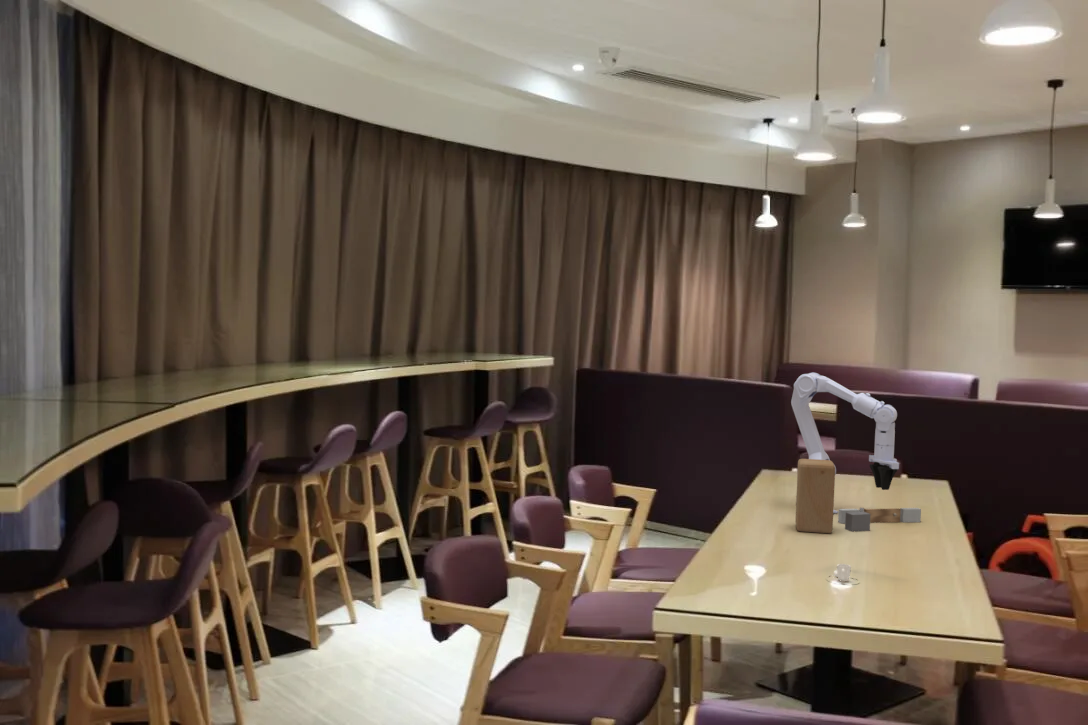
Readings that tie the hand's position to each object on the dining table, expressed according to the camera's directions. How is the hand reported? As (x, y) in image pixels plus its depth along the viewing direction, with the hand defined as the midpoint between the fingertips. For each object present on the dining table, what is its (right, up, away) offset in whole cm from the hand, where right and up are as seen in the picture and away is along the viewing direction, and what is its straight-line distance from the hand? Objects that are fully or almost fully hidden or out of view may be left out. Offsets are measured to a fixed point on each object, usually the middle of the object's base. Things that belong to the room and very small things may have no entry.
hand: (882, 488), depth 309 cm
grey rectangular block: (-13, -10, -15) cm, 22 cm away
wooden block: (-26, -10, -16) cm, 32 cm away
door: (-2, -10, -5) cm, 11 cm away
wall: (-2, -10, -4) cm, 11 cm away
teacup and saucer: (-30, -14, -69) cm, 76 cm away
